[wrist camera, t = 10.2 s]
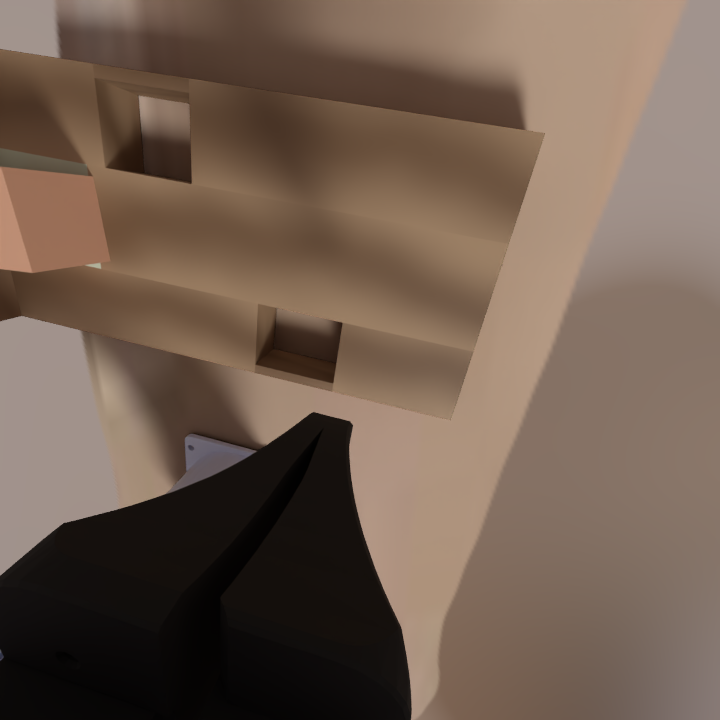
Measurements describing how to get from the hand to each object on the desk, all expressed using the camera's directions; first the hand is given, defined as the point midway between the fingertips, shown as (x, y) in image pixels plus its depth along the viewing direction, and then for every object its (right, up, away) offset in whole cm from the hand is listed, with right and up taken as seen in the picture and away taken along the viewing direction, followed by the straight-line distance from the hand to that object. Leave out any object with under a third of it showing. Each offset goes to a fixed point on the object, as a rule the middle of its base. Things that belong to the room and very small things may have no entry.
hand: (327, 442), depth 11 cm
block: (-14, +10, +7) cm, 18 cm away
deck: (-5, +9, +8) cm, 13 cm away
